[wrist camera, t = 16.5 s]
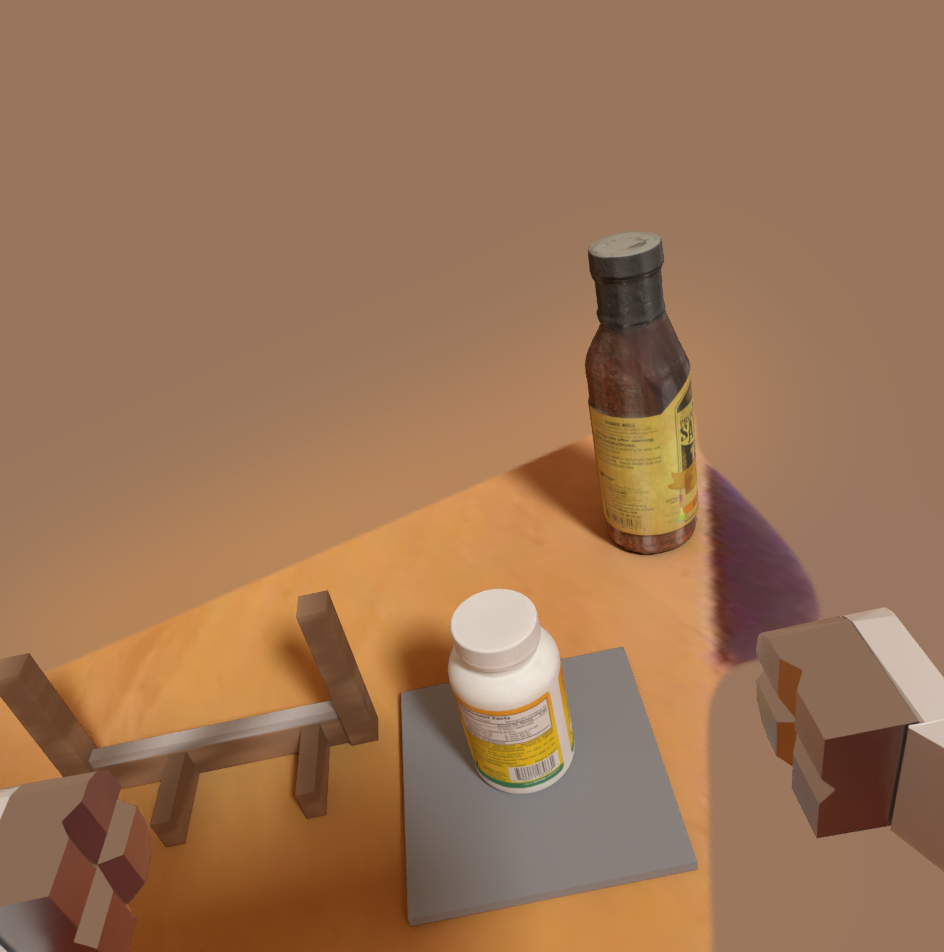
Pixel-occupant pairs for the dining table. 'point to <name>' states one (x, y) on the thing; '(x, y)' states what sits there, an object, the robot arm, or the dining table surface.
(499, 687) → the supplement bottle
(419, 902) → the grey mat
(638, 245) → the sauce bottle
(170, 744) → the dispenser cradle
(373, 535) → the dining table surface
